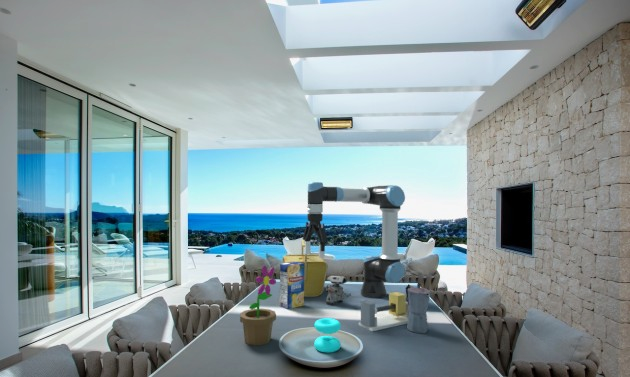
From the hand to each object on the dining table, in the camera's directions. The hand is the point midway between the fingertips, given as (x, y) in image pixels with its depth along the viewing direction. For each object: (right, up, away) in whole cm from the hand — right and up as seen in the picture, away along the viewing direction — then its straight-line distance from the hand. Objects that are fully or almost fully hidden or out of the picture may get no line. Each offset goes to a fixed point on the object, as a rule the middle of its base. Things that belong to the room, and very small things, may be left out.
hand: (314, 256), depth 178 cm
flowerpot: (-22, -27, -36) cm, 50 cm away
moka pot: (+44, -28, -22) cm, 57 cm away
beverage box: (-12, -29, +11) cm, 33 cm away
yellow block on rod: (+39, -25, -11) cm, 47 cm away
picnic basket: (-7, -30, +41) cm, 51 cm away
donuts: (+5, -27, -43) cm, 51 cm away
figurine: (+12, -29, +15) cm, 35 cm away
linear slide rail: (+33, -28, -14) cm, 46 cm away
